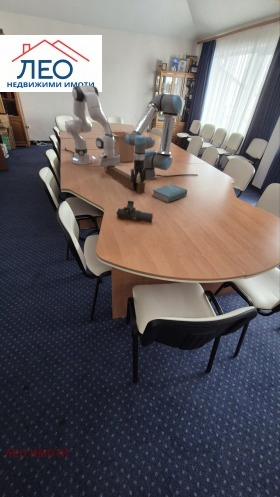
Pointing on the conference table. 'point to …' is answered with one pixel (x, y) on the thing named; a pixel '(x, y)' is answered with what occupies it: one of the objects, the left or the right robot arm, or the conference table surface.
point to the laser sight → (133, 213)
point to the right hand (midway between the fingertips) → (137, 190)
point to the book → (169, 193)
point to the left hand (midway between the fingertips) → (109, 170)
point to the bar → (125, 179)
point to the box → (122, 146)
